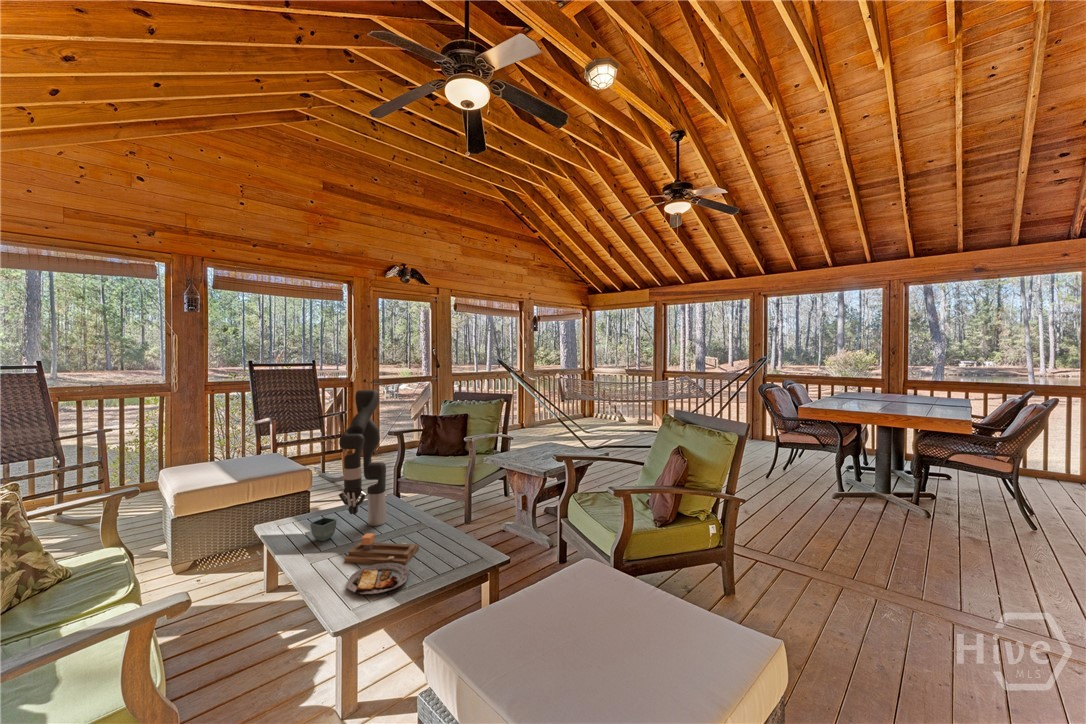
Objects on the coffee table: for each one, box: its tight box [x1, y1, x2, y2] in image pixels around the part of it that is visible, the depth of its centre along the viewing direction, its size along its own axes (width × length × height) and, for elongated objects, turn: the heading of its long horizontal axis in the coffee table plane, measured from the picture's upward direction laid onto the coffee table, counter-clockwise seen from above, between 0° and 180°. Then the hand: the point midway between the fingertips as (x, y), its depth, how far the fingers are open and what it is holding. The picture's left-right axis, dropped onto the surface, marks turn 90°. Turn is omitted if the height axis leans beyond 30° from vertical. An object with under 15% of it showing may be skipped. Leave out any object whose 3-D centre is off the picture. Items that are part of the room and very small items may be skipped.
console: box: [344, 541, 420, 566], centre depth 204 cm, size 16×28×4 cm, turn 84°
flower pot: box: [309, 516, 337, 542], centre depth 221 cm, size 9×9×9 cm
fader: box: [361, 532, 376, 550], centre depth 204 cm, size 5×4×7 cm
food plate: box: [345, 563, 410, 595], centre depth 181 cm, size 25×23×4 cm
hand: (353, 513), depth 205 cm, fingers closed
